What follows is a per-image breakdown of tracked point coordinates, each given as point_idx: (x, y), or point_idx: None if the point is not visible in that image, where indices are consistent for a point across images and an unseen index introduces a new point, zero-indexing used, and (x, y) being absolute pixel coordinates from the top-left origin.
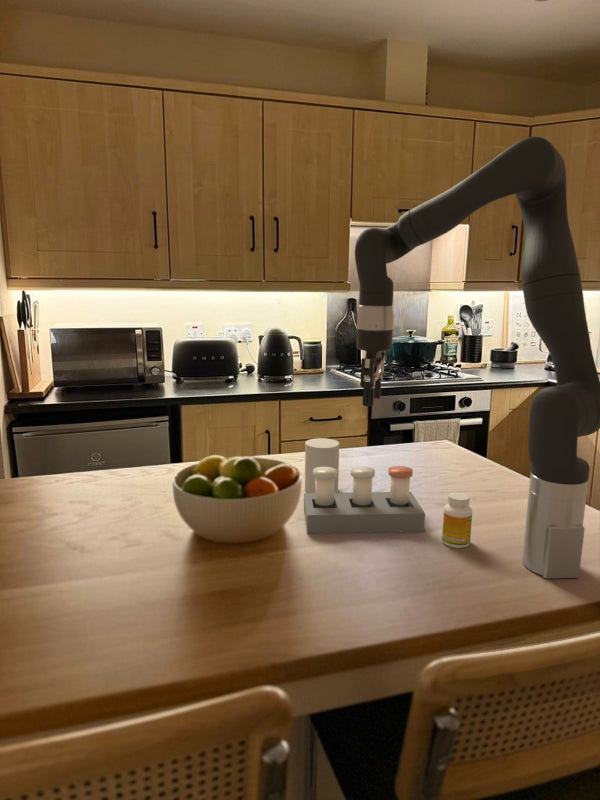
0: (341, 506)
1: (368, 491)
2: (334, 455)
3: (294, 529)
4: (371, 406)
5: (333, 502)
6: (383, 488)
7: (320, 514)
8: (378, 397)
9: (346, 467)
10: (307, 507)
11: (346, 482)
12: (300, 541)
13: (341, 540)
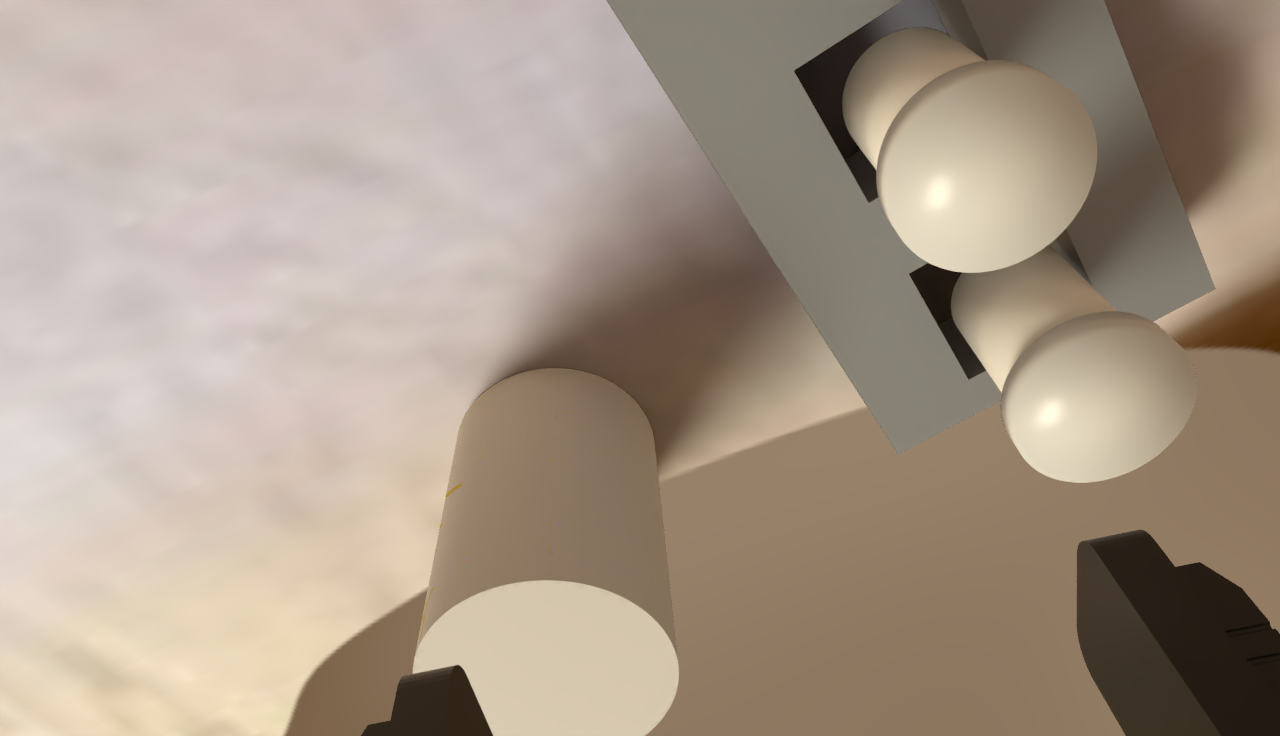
0: None
1: (981, 58)
2: (580, 533)
3: None
4: (1131, 535)
5: None
6: (278, 162)
7: (1184, 231)
8: (459, 683)
9: (108, 509)
10: None
11: (347, 399)
12: (1256, 225)
13: (1187, 41)
